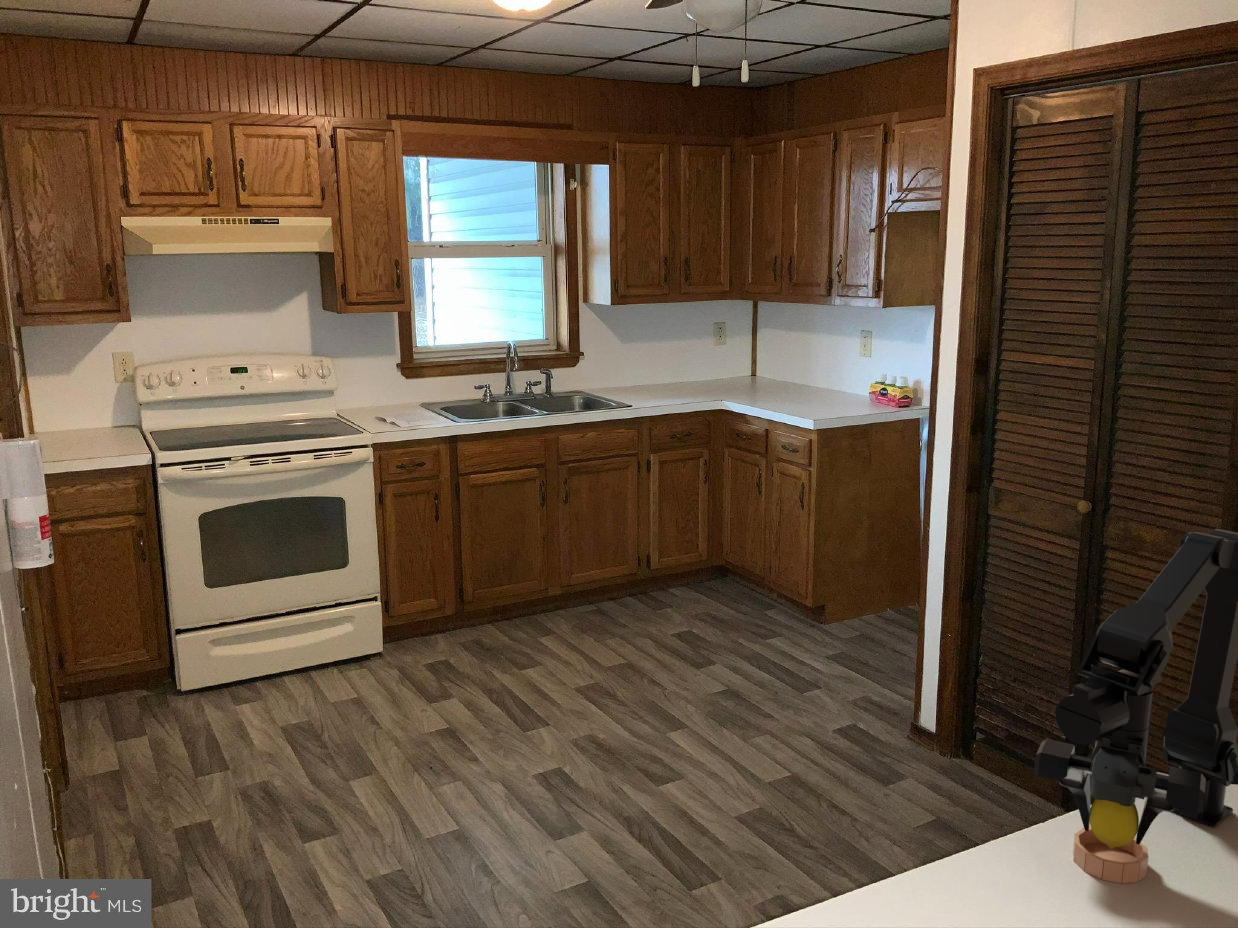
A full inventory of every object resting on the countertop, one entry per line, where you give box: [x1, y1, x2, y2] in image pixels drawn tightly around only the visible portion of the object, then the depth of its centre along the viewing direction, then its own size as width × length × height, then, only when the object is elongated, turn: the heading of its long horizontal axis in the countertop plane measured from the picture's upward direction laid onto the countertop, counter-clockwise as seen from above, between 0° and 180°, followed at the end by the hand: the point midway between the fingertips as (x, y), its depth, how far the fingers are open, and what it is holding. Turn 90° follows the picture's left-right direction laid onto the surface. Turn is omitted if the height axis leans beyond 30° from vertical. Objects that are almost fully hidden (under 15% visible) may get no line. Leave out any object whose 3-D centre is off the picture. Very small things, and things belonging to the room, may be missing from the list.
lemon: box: [1089, 798, 1140, 848], centre depth 126 cm, size 6×6×8 cm
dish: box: [1072, 826, 1149, 884], centre depth 127 cm, size 8×8×2 cm
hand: (1112, 835), depth 127 cm, fingers closed on lemon, 5 cm apart
